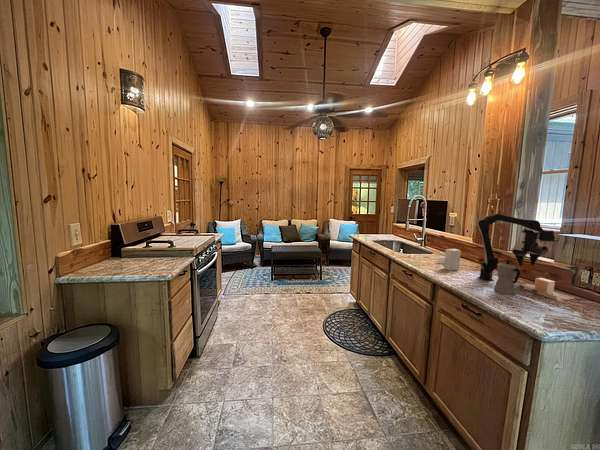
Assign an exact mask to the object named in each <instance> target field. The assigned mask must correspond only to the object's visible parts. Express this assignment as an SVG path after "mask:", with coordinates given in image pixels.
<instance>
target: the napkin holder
mask: <svg viewBox="0 0 600 450" xmlns="http://www.w3.org/2000/svg"><path fill="white" fill-rule="evenodd" d="M437 257H438V258H437V264H441V265H442V264H443V265H444V262H445V256H437Z"/></svg>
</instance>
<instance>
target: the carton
mask: <svg viewBox="0 0 600 450" xmlns="http://www.w3.org/2000/svg"><path fill="white" fill-rule="evenodd" d="M555 284H556V281H554V280H551V279H547V278H544V277H535V281H534V285H535V286H534V289H537V290H540V291H543V292H546V293H549V294H553V291H554V292H555V290H554V289H555Z"/></svg>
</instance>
